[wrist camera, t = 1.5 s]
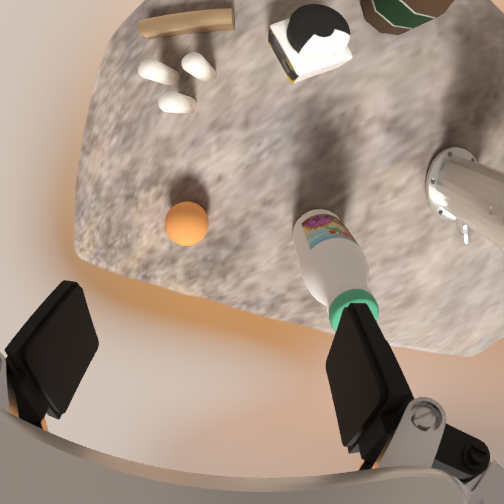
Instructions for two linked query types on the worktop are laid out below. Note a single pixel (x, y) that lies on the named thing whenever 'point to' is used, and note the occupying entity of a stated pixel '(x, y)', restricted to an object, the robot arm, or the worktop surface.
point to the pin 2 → (198, 67)
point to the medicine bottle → (310, 41)
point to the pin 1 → (158, 72)
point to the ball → (186, 223)
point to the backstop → (187, 23)
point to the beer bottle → (402, 13)
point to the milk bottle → (332, 263)
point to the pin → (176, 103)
